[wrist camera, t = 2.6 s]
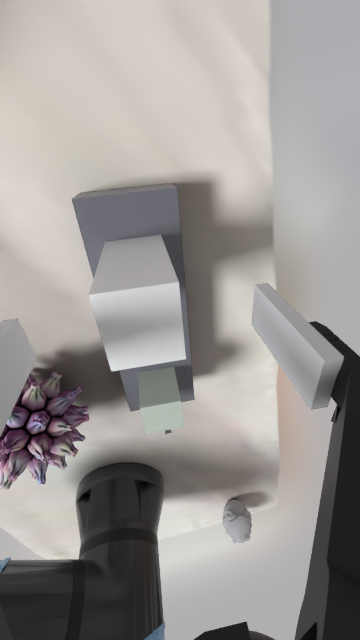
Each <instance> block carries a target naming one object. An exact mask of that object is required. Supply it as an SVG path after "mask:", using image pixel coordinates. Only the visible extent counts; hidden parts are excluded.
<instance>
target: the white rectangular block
mask: <svg viewBox="0 0 360 640" xmlns="http://www.w3.org/2000/svg"><path fill="white" fill-rule="evenodd" d="M89 298H90V302H91V305H92V308H93V312H94V315H95V318H96V322H97V325H98V328H99V332H100V335H101V338H102V342H103V345H104V349H105V352H106V355H107V359H108V362H109V365H110V369H111V372H112V371H118V370H124V369H130V368H136V367H142V366H148V365H154V364H160V363H166V362H172V361H178V360H184V359H186V353H185V342H184V332H183V321H182V310H181V299H180V289H179V281H178V278H177V276H176V273H175V271H174V268H173V265H172V263H171V260H170V257H169V255H168V252H167V250H166V247H165V244H164V242H163V239H162V236H161V235H155V236H147V237H139V238H131V239H123V240H115V241H107V242H105V244H104V247H103V250H102V254H101V257H100V260H99V263H98V266H97V269H96V273H95V276H94V279H93V282H92V285H91V289H90V292H89Z"/></svg>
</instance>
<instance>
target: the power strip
mask: <svg viewBox="0 0 360 640" xmlns="http://www.w3.org/2000/svg"><path fill="white" fill-rule="evenodd" d="M72 202H73V206H74V210H75V213H76V217H77V220H78V224H79V228H80V231H81V235H82V238H83V242H84V246H85V249H86V253H87V256H88V260H89V264H90V267H91V271H92V274H93V278H94V276H95V273H96V269H97V266H98V263H99V260H100V257H101V254H102V250H103V247H104V244H105V242H107V241H115V240H123V239H131V238H139V237H147V236H155V235H161V236H162V239H163V242H164V244H165V247H166V250H167V252H168V255H169V257H170V260H171V263H172V265H173V268H174V271H175V273H176V276H177V278H178V281H179V289H180V299H181V310H182V321H183V332H184V342H185V353H186V359H184V360H178V361H172V362H166V363H160V364H154V365H148V366H142V367H136V368H130V369H124V370H119V372H120V375H121V379H122V383H123V386H124V390H125V394H126V397H127V401H128V404H129V408H130V411H135V410H140V401H139V372H145V371H151V370H156V369H162V368H168V367H174V369H175V374H176V379H177V384H178V389H179V394H180V398H181V402H185V401H190V400H194V389H193V377H192V365H191V352H190V340H189V327H188V315H187V302H186V290H185V277H184V265H183V252H182V240H181V227H180V215H179V202H178V190H177V187H176V186H174V185H173V184H171V183H168V184H159V185H149V186H140V187H131V188H122V189H113V190H103V191H94V192H85V193H80V194H78V195H77V196H75V197H74V198H72ZM167 433H171V429H170V430H165V434H167Z"/></svg>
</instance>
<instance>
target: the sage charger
mask: <svg viewBox="0 0 360 640" xmlns="http://www.w3.org/2000/svg"><path fill="white" fill-rule="evenodd" d="M139 401H140V411H141V416H142V420H143V424H144V428H145V432H146V434H149V433H154V432H160V431H165V430H170V429H175V428H181V427H184V422H183V413H182V405H181V398H180V394H179V389H178V384H177V379H176V374H175V369H174V367H168V368H162V369H156V370H151V371H145V372H139Z"/></svg>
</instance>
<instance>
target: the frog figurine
mask: <svg viewBox="0 0 360 640" xmlns="http://www.w3.org/2000/svg"><path fill="white" fill-rule="evenodd" d="M223 525H224V527H225V528H226V533H227V534H228V535H229V536H230V537H231V538H232V541H233V542H234V543H236V542H238V543H242V542H245V541H248V540H249V539H250V532H251V526H252V524H251V515H250V512H248V510H247V508H246V507H245V505H244V504H243V503H242V502H241V501H239V500H230V501H229V502H228V503H227V504H226V505H225V508H224V513H223Z"/></svg>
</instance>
